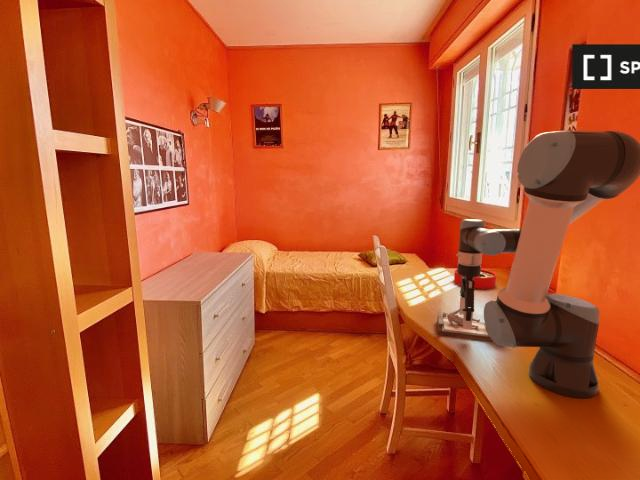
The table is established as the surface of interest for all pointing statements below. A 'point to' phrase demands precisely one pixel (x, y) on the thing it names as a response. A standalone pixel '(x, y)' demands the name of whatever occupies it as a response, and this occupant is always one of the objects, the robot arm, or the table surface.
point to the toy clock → (480, 279)
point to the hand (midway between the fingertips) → (464, 321)
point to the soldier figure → (457, 319)
